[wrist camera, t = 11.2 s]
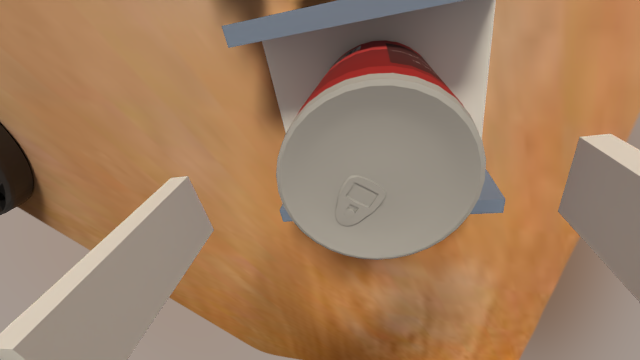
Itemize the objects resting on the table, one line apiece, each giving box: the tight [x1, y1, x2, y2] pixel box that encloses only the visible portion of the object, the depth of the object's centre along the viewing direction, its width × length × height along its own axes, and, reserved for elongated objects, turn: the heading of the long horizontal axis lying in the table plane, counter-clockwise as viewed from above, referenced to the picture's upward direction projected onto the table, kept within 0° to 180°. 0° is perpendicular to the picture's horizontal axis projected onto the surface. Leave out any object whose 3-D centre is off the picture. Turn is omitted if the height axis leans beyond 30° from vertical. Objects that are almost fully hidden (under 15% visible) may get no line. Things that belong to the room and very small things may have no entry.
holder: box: [222, 0, 505, 222], centre depth 18 cm, size 14×12×6 cm
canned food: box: [276, 40, 486, 260], centre depth 15 cm, size 8×8×11 cm
